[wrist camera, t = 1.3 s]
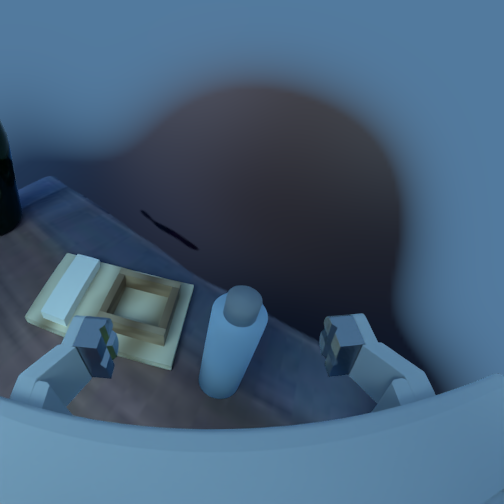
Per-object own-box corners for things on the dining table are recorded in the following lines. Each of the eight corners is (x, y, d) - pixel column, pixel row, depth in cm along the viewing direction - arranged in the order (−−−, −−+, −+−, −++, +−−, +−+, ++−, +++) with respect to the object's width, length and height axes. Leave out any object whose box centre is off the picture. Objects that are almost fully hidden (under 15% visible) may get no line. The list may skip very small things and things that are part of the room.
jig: (27, 321, 33) (19, 305, 31) (68, 258, 44) (64, 240, 42) (171, 370, 35) (171, 356, 32) (193, 290, 46) (195, 273, 43)
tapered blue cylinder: (195, 394, 33) (209, 315, 23) (202, 360, 37) (219, 271, 27) (236, 402, 33) (273, 328, 23) (240, 367, 37) (274, 283, 27)
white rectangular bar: (43, 317, 33) (40, 311, 32) (79, 260, 43) (77, 253, 42) (66, 326, 34) (63, 320, 33) (100, 266, 43) (99, 259, 42)
